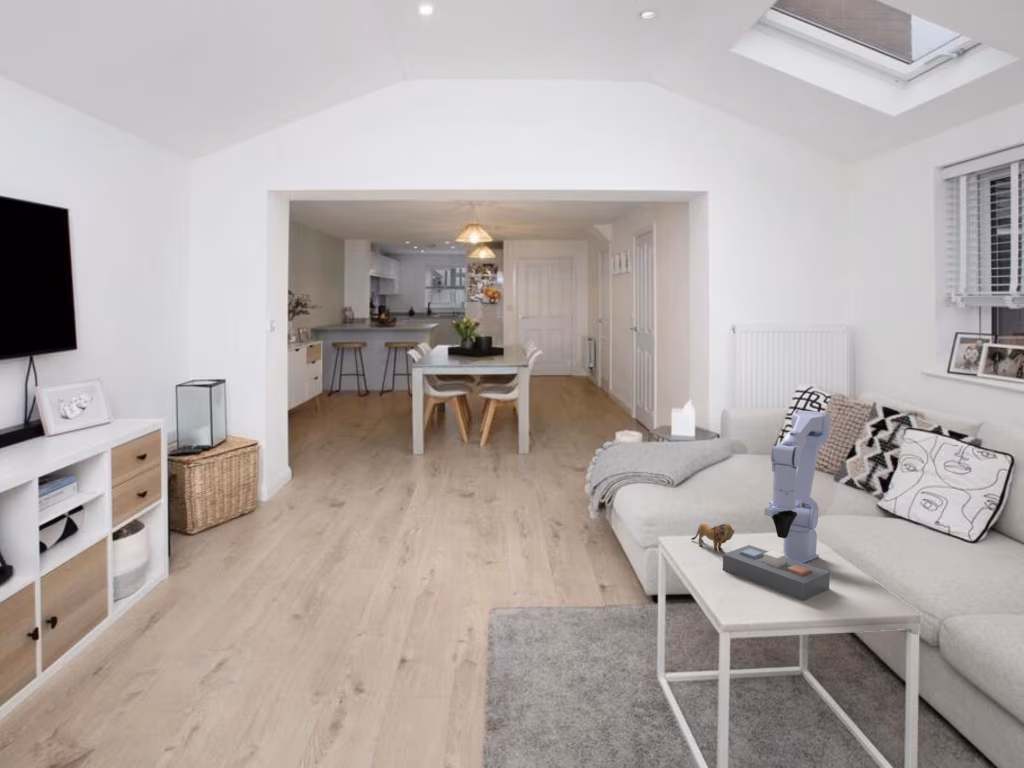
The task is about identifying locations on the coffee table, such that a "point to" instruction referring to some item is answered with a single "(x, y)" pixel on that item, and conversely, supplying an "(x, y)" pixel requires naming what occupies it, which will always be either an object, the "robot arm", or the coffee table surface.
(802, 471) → the robot arm
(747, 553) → the blue key
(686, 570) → the coffee table surface
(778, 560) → the white key
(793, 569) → the red key
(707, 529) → the lion figurine
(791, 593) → the key housing
